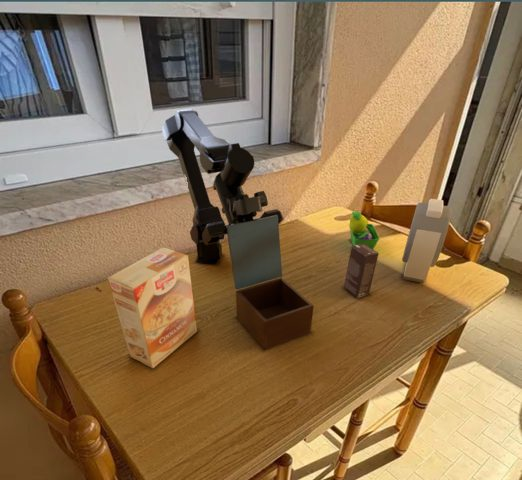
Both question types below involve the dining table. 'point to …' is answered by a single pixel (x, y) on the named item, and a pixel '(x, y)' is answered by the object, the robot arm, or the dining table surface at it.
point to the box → (360, 270)
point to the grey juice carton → (425, 239)
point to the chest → (274, 312)
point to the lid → (255, 251)
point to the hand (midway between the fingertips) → (255, 261)
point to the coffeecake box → (155, 305)
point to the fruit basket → (362, 231)
